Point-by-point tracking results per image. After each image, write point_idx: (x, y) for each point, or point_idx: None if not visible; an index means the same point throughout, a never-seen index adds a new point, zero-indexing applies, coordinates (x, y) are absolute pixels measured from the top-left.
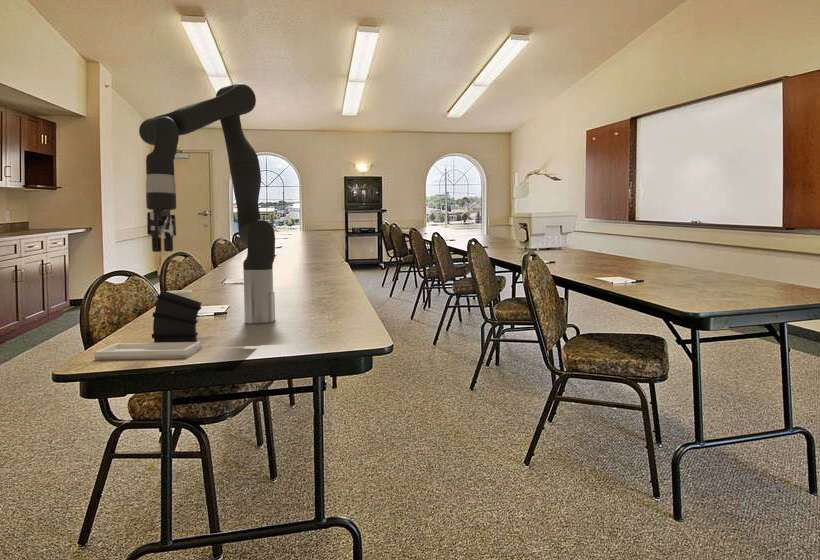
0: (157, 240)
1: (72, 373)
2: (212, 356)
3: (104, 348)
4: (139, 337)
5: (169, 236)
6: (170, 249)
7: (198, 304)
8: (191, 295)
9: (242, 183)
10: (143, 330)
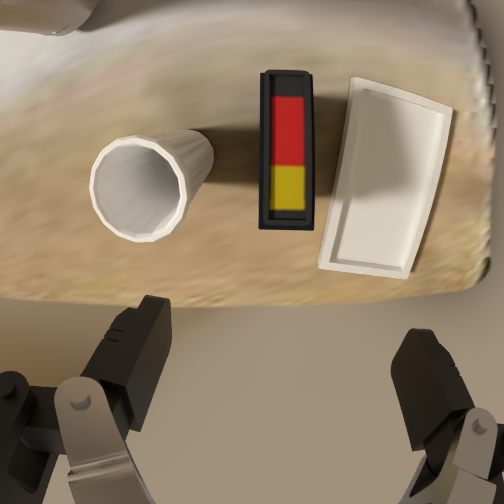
0: (470, 396)
1: (481, 269)
2: (437, 58)
3: (378, 273)
4: (148, 256)
5: (118, 417)
6: (165, 315)
7: (308, 75)
8: (143, 135)
9: None
10: (69, 268)
